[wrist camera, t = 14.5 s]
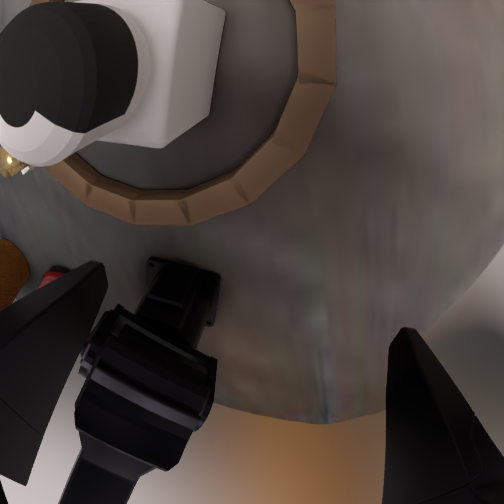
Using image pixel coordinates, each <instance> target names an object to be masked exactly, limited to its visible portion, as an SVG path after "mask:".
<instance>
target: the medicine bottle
mask: <svg viewBox="0 0 504 504" xmlns="http://www.w3.org/2000/svg"><path fill="white" fill-rule="evenodd" d="M225 16H226V13H225V11H224V10H223V9H221V8H219V7H217V6H215V5H212V4H210V3H208V2H206V1H204V0H80V1H75V2H43V3H38V4H35V5H32V6H30V7H28V8H26V9H25V10H23V11H22V12H20V13H19V14H18V15H17V16H15V17H14V18H13V19H12V20H11V22H10V23H9V24H8V25H7V26H6V27H5V28H4V29H3V31H2V32H1V33H0V144H1V146H2V147H3V148H4V149H5V150H6V151H7V152H8V153H9V154H10V155H11V156H13V157H14V158H16V159H17V160H19V161H22V162H24V163H27V164H29V165H33V166H50V165H53V164H56V163H58V162H60V161H62V160H63V159H65V158H67V157H68V156H70V155H72V154H73V153H75V152H77V151H78V150H80V149H82V148H83V147H85V146H87V145H88V144H90V143H92V142H94V141H96V140H97V141H106V142H114V143H122V144H129V145H136V146H143V147H150V148H156V149H159V148H163V147H165V146H166V145H167V144H169V143H170V142H172V141H173V140H174V139H176V138H177V137H178V136H180V135H181V134H183V133H184V132H185V131H187V130H188V129H190V128H191V127H193V126H194V125H196V124H197V123H198V122H200V121H201V120H203V119H204V118H206V117H207V116H208V115H209V112H210V105H211V98H212V92H213V85H214V79H215V72H216V66H217V60H218V54H219V48H220V43H221V37H222V32H223V26H224V21H225Z"/></svg>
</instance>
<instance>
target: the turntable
mask: <svg viewBox="0 0 504 504" xmlns="http://www.w3.org/2000/svg"><path fill="white" fill-rule="evenodd" d="M63 1H64V0H32V2H31V4H30V6H32V5H35V4H38V3H43V2H63ZM289 2H290V4H291V5H292V7H293V9H294V11H295V13H296V25H297V48H298V78H297V81H296V83H295V85H294V88H293V90H292V93H291V95H290V97H289V100H288V102H287V105H286V107H285V109H284V112H283V114H282V117H281V119H280V121H279V124H278V126H277V129H276V130H275V131H274V132H273V133H272V134H271V135H270V136H269V137H268V138H267V139H266V140H265V141H264V142H263V143H262V144H261V145H260V146H259V147H258V148H257V149H256V150H255V151H254V152H253V153H252V154H251V155H250V156H249V157H248V158H247V159H246V160H245V161H244V162H243V163H242V164H241V165H240V166H239V167H238V168H237V169H236V170H234V171H231V172H229V173H227V174H224V175H222V176H219V177H217V178H215V179H212V180H210V181H207V182H205V183H203V184H200V185H198V186H196V187H194V188H191V189H189V190H146V191H142V190H139V189H137V188H134V187H131V186H128V185H126V184H123V183H120V182H117V181H115V180H112V179H109V178H107V177H104V176H101V175H100V174H99V173H98V172H97V171H95V170H94V169H93V168H92V167H91V166H90V165H88V164H87V163H86V162H85V161H84V160H83V159H82V158H80V157H79V156H78V155H77V154H76V153H73V154H72V155H70V156H68V157H67V158H65V159H63V160H62V161H60V162H58V163H56V164H53V165H50V166H45V168H46V170H47V171H48V172H49V173H50V174H51V175H52V176H53V177H54V178H56V179H57V180H58V181H59V182H60V183H61V184H62V185H63V186H64V187H65V188H67V189H68V190H69V191H70V192H71V193H72V194H73V195H74V196H76V197H77V198H78V199H79V200H80V201H81V202H82V203H84V204H85V205H87V206H89V207H92V208H94V209H97V210H99V211H102V212H104V213H106V214H109V215H111V216H114V217H116V218H119V219H121V220H124V221H126V222H129V223H131V224H134V225H172V226H192V225H195V224H197V223H200V222H203V221H206V220H208V219H211V218H214V217H216V216H219V215H222V214H225V213H227V212H230V211H233V210H236V209H238V208H241V207H244V206H247V205H250V204H251V203H252V202H253V201H254V200H256V199H257V198H258V197H259V196H260V195H261V194H262V193H263V192H264V191H265V190H266V189H268V188H269V187H270V186H271V185H272V184H273V183H274V182H275V181H276V180H277V179H279V178H280V177H281V176H282V175H283V174H284V173H285V172H286V171H287V170H289V169H290V168H291V167H292V166H293V165H294V164H295V163H296V162H297V161H299V160H300V159H301V158H302V157H303V156H304V154H305V152H306V150H307V148H308V146H309V143H310V141H311V139H312V137H313V135H314V132H315V130H316V128H317V126H318V124H319V122H320V119H321V117H322V115H323V113H324V111H325V109H326V106H327V104H328V102H329V100H330V98H331V95H332V93H333V91H334V89H335V87H336V30H335V8H334V4H333V2H332V0H289ZM30 6H29V7H30ZM27 166H29V164H27V163H24V162H22V161H19V160H17V159H16V158H14V157H13V156H11V155H10V154H9V153H8V152H7V151H6V150H5V149H4V148H3V147H0V173H1V174H2V175H3V176H4V177H6V178H11V177H12V176H14V175H15V174H17V173H18V172H20V171H21V170H23V169H24V168H26V167H27Z"/></svg>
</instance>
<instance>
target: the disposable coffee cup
mask: <svg viewBox="0 0 504 504" xmlns="http://www.w3.org/2000/svg"><path fill="white" fill-rule="evenodd" d="M29 275H30V271H29V267H28V264H27V262H26V260H25V258H24V256H23V255H22V253H21V252H20V251H19V249H18V248H17V247H16V246H15V245H14V244H13V243H11V242H10V241H8V240H6V239H1V240H0V311H1V310H2V309H4V308H6V307H7V306H9V305H11V304H12V303H13V301H14V299H15V298H16V296H17V294H18V293H19V291H20V289H21V288H22V286H23V285H24V283H25V282H26V280H27V279H28V277H29Z"/></svg>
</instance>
